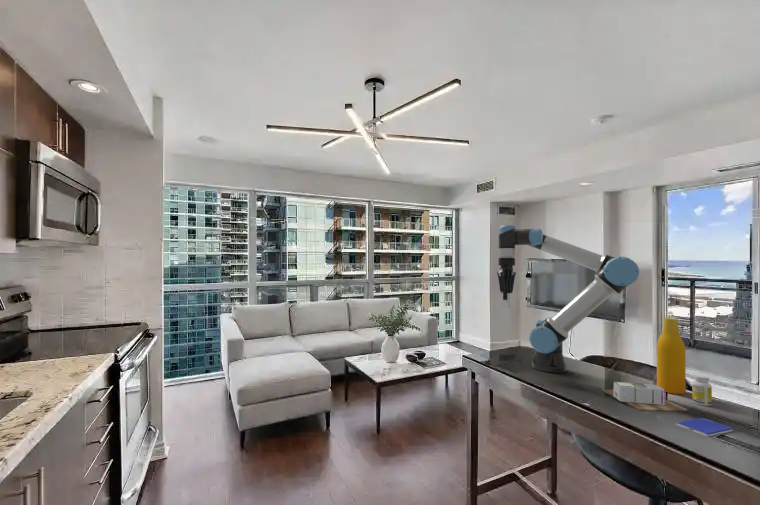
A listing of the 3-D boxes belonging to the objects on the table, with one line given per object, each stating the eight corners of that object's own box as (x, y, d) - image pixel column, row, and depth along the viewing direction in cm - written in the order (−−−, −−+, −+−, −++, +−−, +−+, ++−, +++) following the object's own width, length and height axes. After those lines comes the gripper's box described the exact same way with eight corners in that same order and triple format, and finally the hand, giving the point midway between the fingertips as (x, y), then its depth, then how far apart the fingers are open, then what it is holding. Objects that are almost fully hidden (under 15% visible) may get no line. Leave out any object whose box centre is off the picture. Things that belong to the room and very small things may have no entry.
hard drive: (701, 417, 119) (676, 421, 115) (732, 427, 112) (707, 433, 107) (701, 421, 119) (676, 427, 115) (732, 432, 111) (707, 438, 107)
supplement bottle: (707, 402, 137) (707, 375, 137) (715, 407, 132) (714, 379, 132) (689, 400, 138) (689, 373, 139) (696, 404, 133) (696, 377, 134)
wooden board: (640, 410, 126) (640, 408, 126) (601, 390, 146) (601, 389, 146) (687, 410, 127) (687, 409, 127) (642, 391, 147) (642, 389, 147)
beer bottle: (687, 391, 149) (686, 319, 150) (684, 396, 142) (684, 321, 143) (658, 385, 155) (658, 316, 156) (654, 390, 149) (654, 318, 150)
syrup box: (619, 401, 133) (665, 406, 130) (619, 385, 133) (665, 389, 130) (612, 396, 138) (656, 400, 135) (613, 380, 138) (656, 384, 136)
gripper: (507, 258, 185) (506, 305, 184) (492, 257, 176) (491, 306, 175) (521, 257, 179) (520, 306, 178) (506, 256, 171) (505, 308, 170)
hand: (506, 306), depth 177 cm, fingers closed
